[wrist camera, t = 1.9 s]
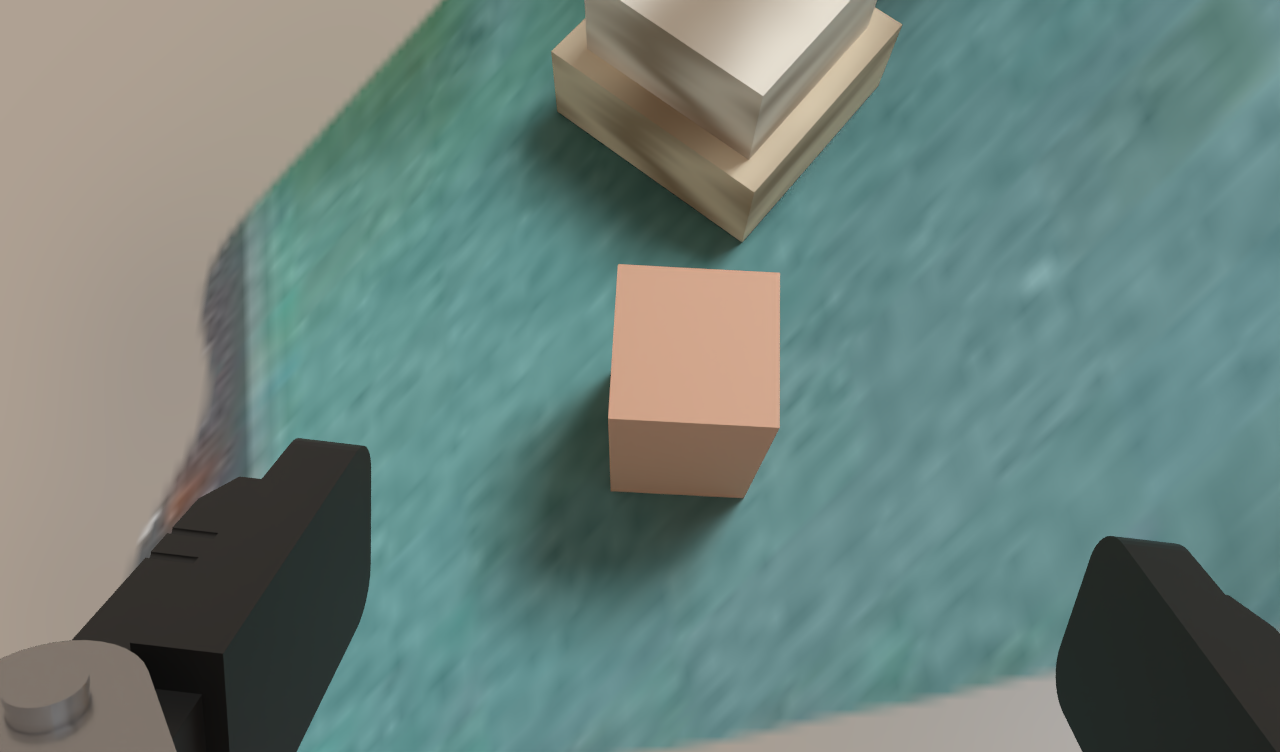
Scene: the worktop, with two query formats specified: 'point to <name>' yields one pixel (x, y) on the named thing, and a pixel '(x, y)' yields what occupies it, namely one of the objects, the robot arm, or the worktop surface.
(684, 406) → the salmon pink rectangular block
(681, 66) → the beige stepped block
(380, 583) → the worktop surface
